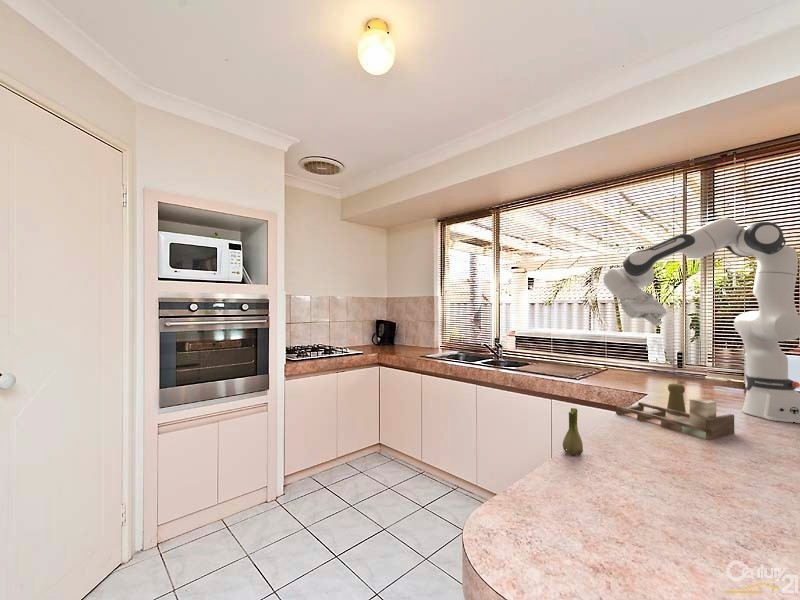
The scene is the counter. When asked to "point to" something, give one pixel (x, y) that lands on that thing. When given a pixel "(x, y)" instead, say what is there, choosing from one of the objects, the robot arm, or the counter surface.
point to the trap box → (680, 421)
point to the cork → (676, 398)
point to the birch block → (701, 411)
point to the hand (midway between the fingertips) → (658, 324)
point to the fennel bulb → (573, 436)
